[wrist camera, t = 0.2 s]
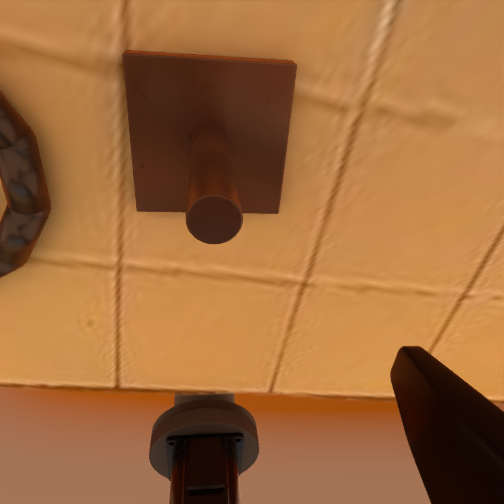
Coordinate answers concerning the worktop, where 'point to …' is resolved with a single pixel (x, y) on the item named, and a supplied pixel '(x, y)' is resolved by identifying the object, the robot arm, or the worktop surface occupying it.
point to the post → (208, 136)
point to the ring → (20, 190)
